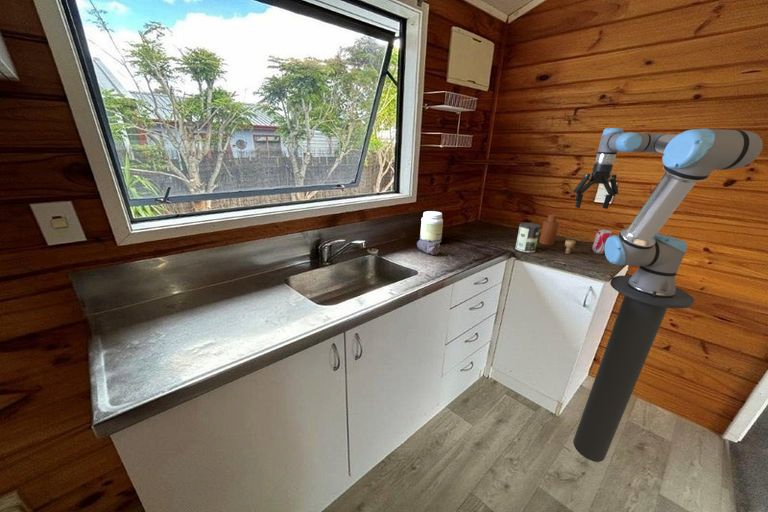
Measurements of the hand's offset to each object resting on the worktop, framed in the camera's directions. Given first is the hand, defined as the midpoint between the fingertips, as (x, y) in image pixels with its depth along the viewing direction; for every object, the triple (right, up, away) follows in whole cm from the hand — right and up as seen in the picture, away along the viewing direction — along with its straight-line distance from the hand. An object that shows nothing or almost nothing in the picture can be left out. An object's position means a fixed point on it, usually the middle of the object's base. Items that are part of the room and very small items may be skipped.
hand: (591, 207), depth 151 cm
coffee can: (-25, -20, +16) cm, 36 cm away
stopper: (-4, -23, +12) cm, 26 cm away
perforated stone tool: (-81, -22, +8) cm, 84 cm away
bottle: (-7, -16, +28) cm, 33 cm away
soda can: (+14, -22, +15) cm, 30 cm away
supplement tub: (-76, -16, +25) cm, 82 cm away
